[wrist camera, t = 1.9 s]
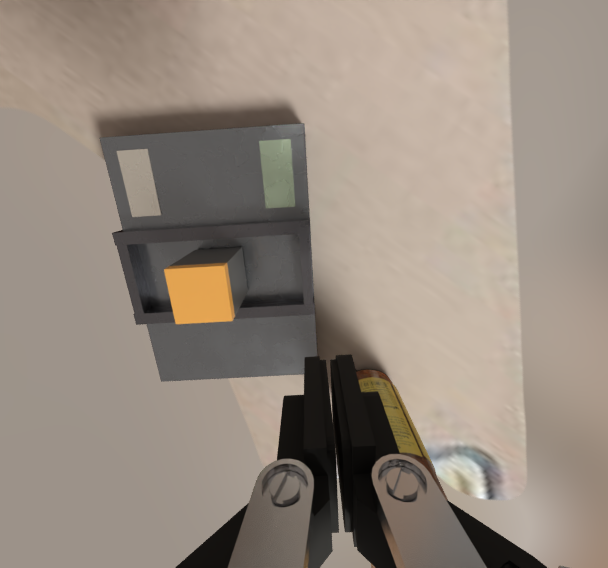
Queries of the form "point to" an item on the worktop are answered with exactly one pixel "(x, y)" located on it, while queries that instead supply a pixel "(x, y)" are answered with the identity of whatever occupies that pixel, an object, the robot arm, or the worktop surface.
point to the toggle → (207, 285)
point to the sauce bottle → (397, 418)
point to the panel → (219, 243)
